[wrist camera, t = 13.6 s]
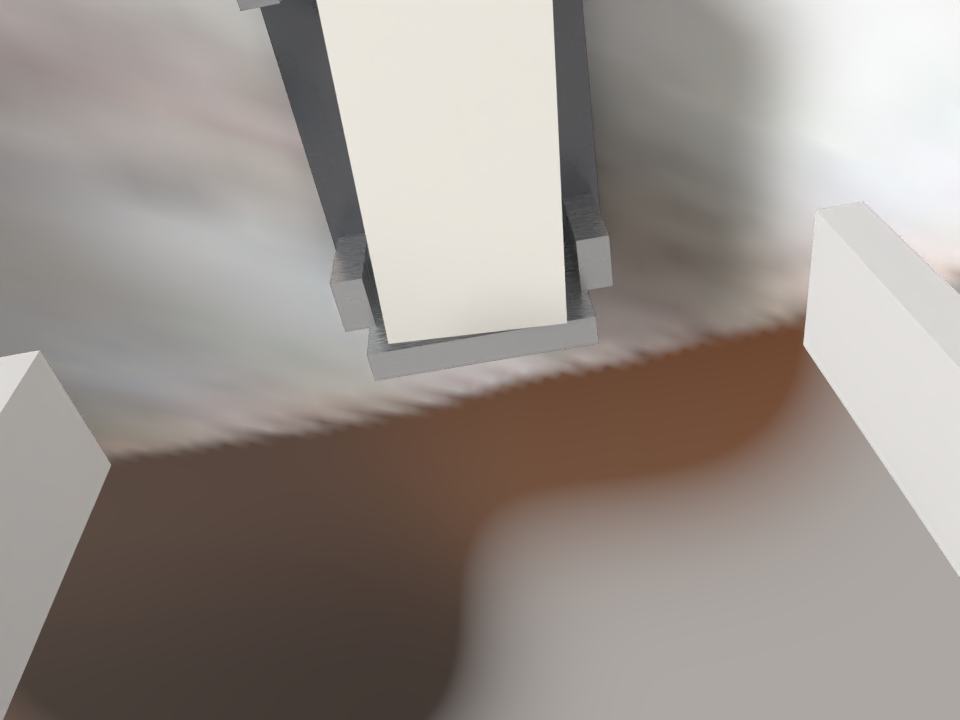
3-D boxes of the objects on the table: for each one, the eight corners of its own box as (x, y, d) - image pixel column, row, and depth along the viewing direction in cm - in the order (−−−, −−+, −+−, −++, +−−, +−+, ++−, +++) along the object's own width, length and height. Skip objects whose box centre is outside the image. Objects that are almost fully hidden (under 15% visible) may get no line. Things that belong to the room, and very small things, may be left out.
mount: (599, 250, 29) (630, 337, 25) (355, 292, 30) (343, 385, 25) (559, -204, 21) (595, -195, 17) (225, -135, 21) (173, -109, 17)
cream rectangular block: (541, 224, 27) (566, 323, 22) (394, 241, 27) (388, 343, 22) (520, -117, 21) (548, -82, 16) (332, -93, 21) (305, -52, 16)
